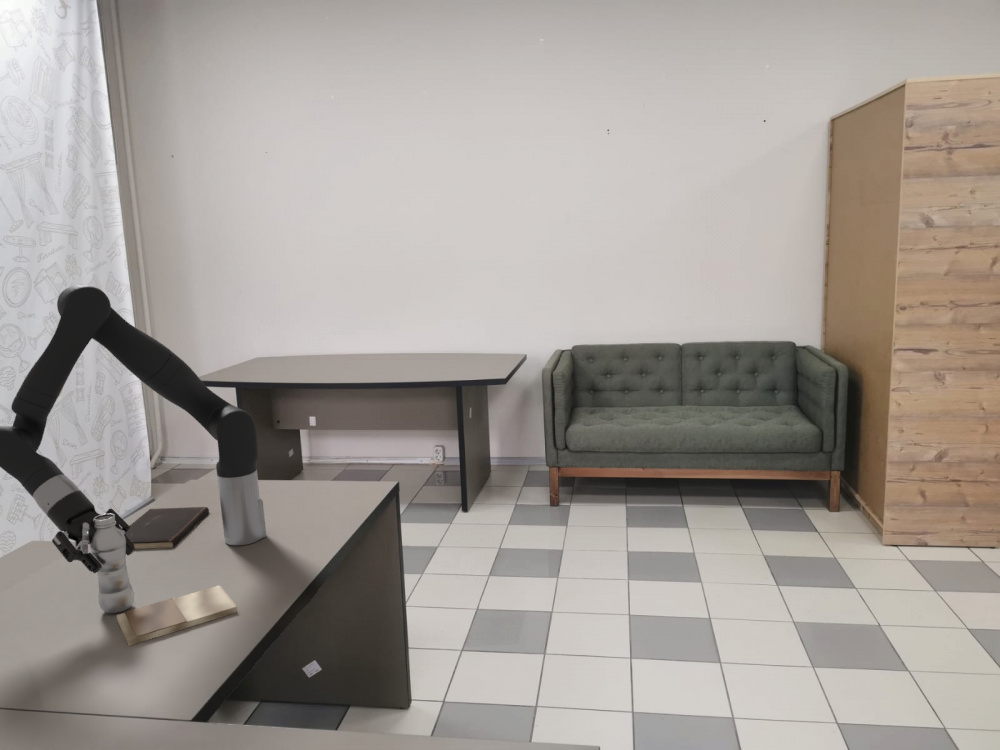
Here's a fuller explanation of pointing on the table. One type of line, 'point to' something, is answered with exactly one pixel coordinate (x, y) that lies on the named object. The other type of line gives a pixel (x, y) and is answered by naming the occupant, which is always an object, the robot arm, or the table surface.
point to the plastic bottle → (111, 565)
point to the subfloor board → (175, 614)
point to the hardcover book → (164, 526)
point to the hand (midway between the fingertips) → (115, 561)
